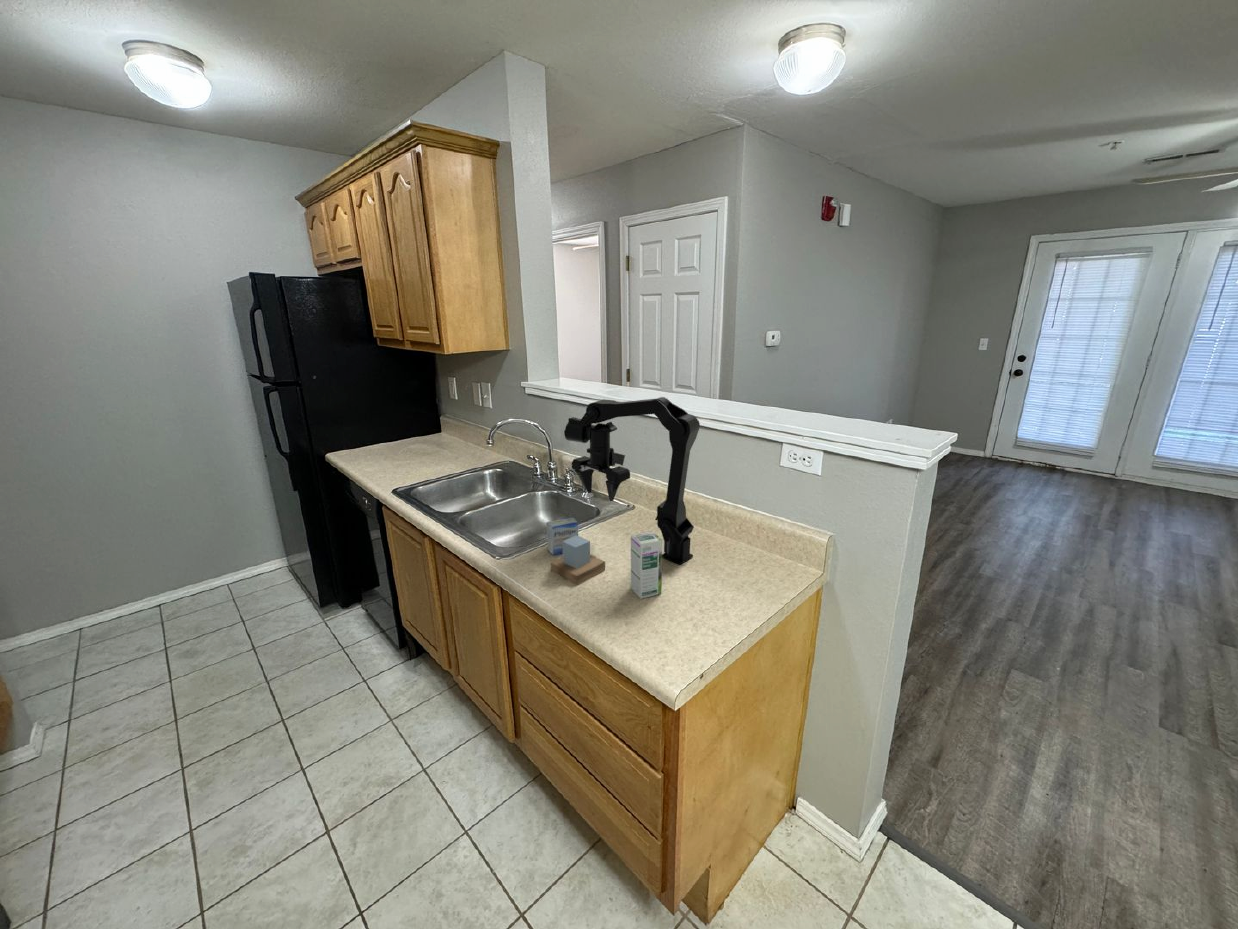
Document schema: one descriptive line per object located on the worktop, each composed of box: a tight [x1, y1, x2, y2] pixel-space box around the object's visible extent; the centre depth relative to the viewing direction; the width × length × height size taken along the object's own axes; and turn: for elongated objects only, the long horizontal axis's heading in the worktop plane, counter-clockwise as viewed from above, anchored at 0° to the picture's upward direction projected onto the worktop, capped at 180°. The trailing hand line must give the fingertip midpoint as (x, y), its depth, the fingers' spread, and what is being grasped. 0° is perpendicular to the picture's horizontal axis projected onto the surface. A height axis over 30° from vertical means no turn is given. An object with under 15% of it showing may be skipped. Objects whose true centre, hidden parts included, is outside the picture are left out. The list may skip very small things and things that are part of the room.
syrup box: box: [630, 530, 663, 600], centre depth 120 cm, size 6×6×14 cm
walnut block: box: [550, 554, 606, 586], centre depth 131 cm, size 10×10×3 cm
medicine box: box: [546, 516, 579, 556], centre depth 141 cm, size 8×4×9 cm, turn 117°
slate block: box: [562, 535, 591, 569], centre depth 130 cm, size 5×5×6 cm
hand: (600, 496), depth 146 cm, fingers open, 9 cm apart
